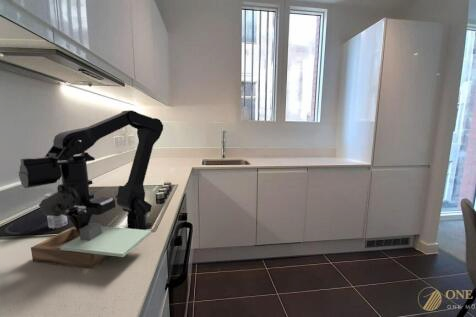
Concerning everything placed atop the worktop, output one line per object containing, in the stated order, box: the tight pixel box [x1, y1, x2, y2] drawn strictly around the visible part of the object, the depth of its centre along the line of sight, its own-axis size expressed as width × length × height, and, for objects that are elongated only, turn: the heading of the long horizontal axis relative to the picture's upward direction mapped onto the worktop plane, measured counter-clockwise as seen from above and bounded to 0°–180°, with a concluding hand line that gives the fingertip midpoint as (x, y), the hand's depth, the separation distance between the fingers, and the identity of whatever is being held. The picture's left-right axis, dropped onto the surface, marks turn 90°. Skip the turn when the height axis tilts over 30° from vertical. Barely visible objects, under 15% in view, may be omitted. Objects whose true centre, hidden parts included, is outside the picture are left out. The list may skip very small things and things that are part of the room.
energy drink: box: [43, 191, 69, 230], centre depth 79 cm, size 5×5×12 cm
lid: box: [60, 222, 152, 258], centre depth 60 cm, size 12×18×4 cm, turn 80°
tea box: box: [30, 226, 110, 270], centre depth 63 cm, size 12×18×4 cm, turn 79°
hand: (82, 233), depth 62 cm, fingers closed
